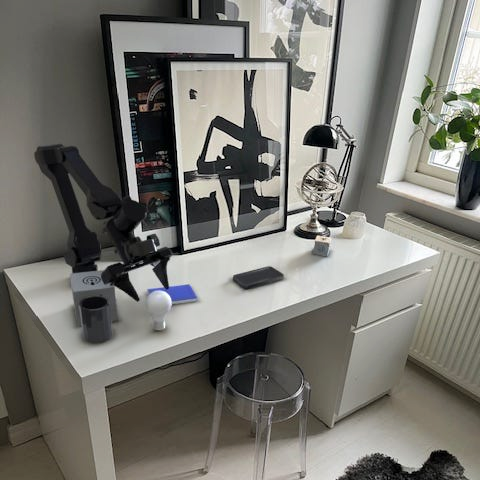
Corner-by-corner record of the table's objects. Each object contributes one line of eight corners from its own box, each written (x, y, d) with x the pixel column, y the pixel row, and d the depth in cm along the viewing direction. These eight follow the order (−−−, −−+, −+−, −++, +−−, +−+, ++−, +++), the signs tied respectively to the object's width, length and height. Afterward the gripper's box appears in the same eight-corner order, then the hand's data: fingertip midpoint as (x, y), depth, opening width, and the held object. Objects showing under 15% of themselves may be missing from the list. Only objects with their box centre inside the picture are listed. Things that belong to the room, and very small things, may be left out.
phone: (231, 275, 153) (270, 265, 161) (231, 278, 154) (270, 268, 161) (246, 286, 148) (285, 275, 155) (245, 289, 149) (285, 278, 156)
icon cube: (117, 320, 131) (114, 287, 125) (77, 326, 127) (73, 292, 122) (111, 301, 138) (108, 269, 133) (74, 306, 135) (69, 273, 130)
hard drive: (153, 302, 136) (197, 296, 140) (147, 288, 143) (189, 283, 147) (153, 307, 137) (197, 301, 141) (147, 293, 144) (189, 288, 148)
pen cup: (81, 343, 121) (77, 310, 116) (84, 328, 127) (80, 295, 122) (111, 342, 122) (108, 309, 117) (113, 327, 128) (110, 294, 123)
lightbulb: (170, 336, 126) (169, 299, 120) (145, 335, 126) (143, 297, 120) (173, 323, 131) (173, 286, 125) (149, 321, 131) (147, 285, 125)
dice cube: (329, 250, 176) (331, 237, 174) (327, 256, 172) (329, 243, 170) (315, 248, 177) (317, 235, 175) (313, 254, 173) (315, 240, 171)
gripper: (103, 235, 113) (135, 295, 112) (167, 216, 125) (197, 271, 124) (87, 255, 121) (117, 311, 121) (149, 236, 133) (176, 287, 133)
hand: (153, 294), depth 125 cm, fingers open, 9 cm apart
